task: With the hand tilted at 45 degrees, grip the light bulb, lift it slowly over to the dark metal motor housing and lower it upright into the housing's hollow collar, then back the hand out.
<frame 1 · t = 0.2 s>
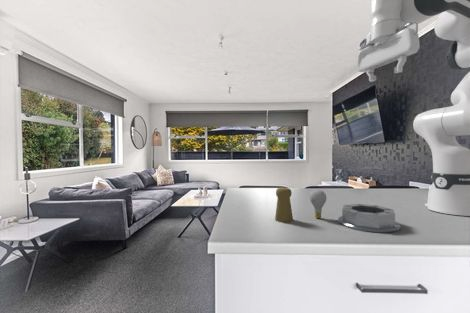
hand: (384, 77, 78), 48 cm above the table, tool pointing down, fingers open, 8 cm apart
cork: (284, 220, 79), on the table
motor housing: (367, 223, 74), on the table
light bulb: (318, 218, 80), on the table
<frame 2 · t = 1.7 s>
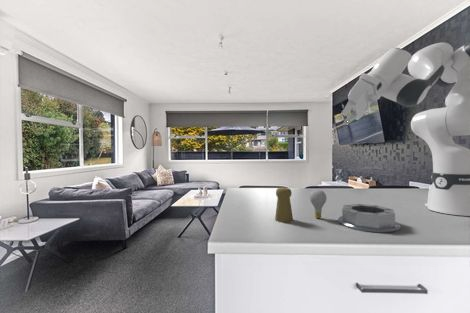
hand: (344, 119, 86), 35 cm above the table, tool tilted 40°, fingers open, 8 cm apart
nothing on the table moved.
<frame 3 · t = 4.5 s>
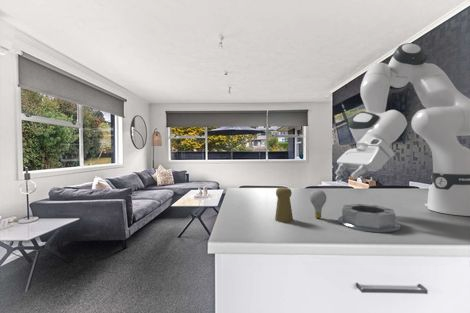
hand: (344, 176, 82), 14 cm above the table, tool tilted 45°, fingers open, 8 cm apart
nothing on the table moved.
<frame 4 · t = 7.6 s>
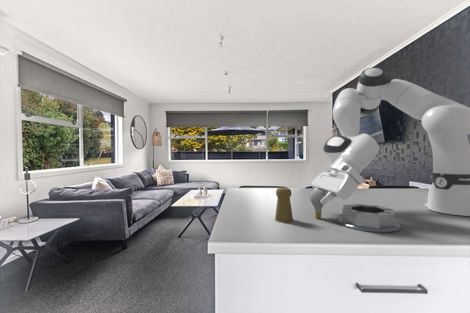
hand: (316, 201, 80), 6 cm above the table, tool tilted 45°, fingers closed on light bulb, 5 cm apart
light bulb: (318, 218, 80), on the table, touching gripper
everything else where it was.
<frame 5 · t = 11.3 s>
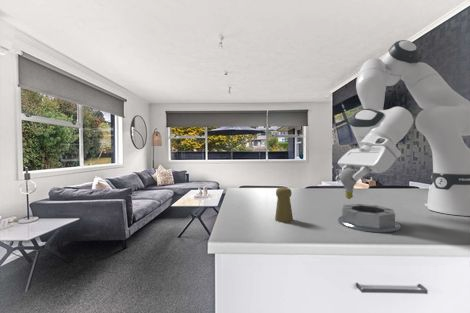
hand: (347, 178, 75), 14 cm above the table, tool tilted 45°, fingers closed on light bulb, 5 cm apart
light bulb: (349, 199, 76), point 7 cm above the table, touching gripper
everything else where it was.
when the fingers open (8 cm above the table, at t = 15.2 s): light bulb stays where it is, resting on motor housing.
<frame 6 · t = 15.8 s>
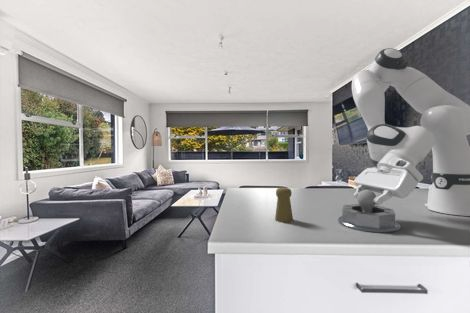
hand: (365, 200, 73), 7 cm above the table, tool tilted 45°, fingers open, 8 cm apart
light bulb: (366, 221, 74), resting on motor housing
everything else where it was.
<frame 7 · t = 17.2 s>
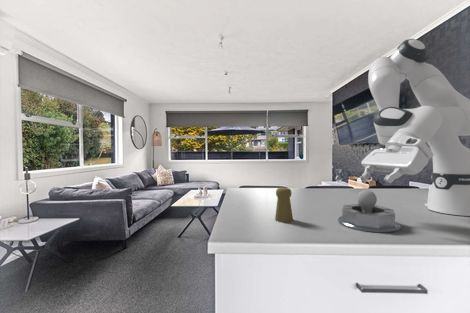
hand: (374, 179, 73), 14 cm above the table, tool tilted 45°, fingers open, 8 cm apart
nothing on the table moved.
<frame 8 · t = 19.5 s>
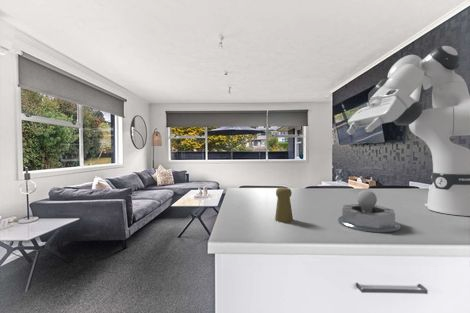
hand: (357, 132, 77), 29 cm above the table, tool tilted 45°, fingers open, 8 cm apart
nothing on the table moved.
at the end: light bulb 0.3 cm off-centre on the motor housing, point 0.4 cm above the motor housing's base; light bulb tilted 0°; the gripper is holding nothing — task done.
